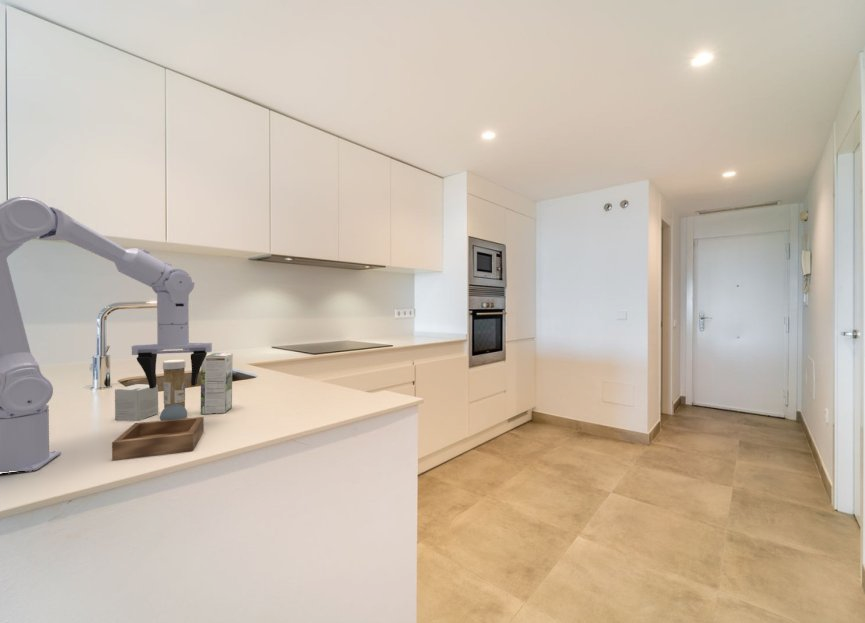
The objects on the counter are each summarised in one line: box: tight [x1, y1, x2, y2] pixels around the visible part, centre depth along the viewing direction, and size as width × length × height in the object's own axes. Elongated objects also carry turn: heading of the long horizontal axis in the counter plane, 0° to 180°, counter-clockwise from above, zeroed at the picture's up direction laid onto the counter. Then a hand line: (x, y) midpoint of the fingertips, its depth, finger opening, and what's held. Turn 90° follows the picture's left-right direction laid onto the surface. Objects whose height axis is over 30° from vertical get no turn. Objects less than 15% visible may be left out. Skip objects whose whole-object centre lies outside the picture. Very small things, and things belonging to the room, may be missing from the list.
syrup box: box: [200, 352, 234, 415], centre depth 98 cm, size 6×6×14 cm
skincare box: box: [114, 383, 159, 422], centre depth 93 cm, size 6×6×7 cm
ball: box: [159, 404, 188, 421], centre depth 85 cm, size 5×5×5 cm
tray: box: [111, 416, 205, 461], centre depth 75 cm, size 12×12×3 cm
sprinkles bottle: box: [162, 359, 186, 409], centre depth 94 cm, size 5×5×14 cm
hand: (173, 386), depth 85 cm, fingers open, 7 cm apart
